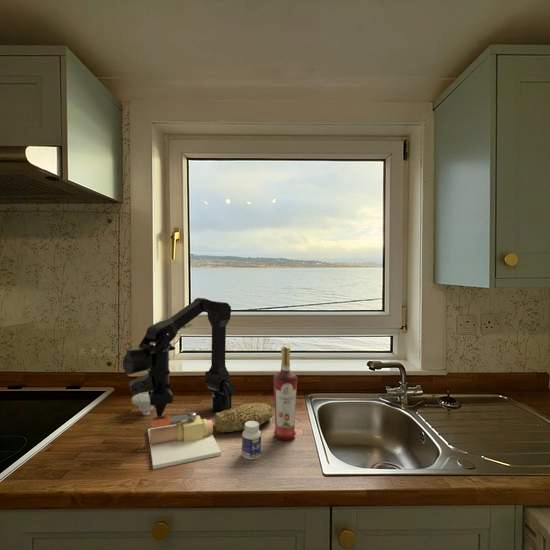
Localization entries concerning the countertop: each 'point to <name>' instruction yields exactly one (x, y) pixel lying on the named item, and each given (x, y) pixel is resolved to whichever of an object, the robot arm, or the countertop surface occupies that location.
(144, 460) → the countertop surface
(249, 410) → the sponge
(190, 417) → the valve lever
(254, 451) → the pill bottle
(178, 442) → the valve board
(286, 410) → the liquor
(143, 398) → the showerhead
